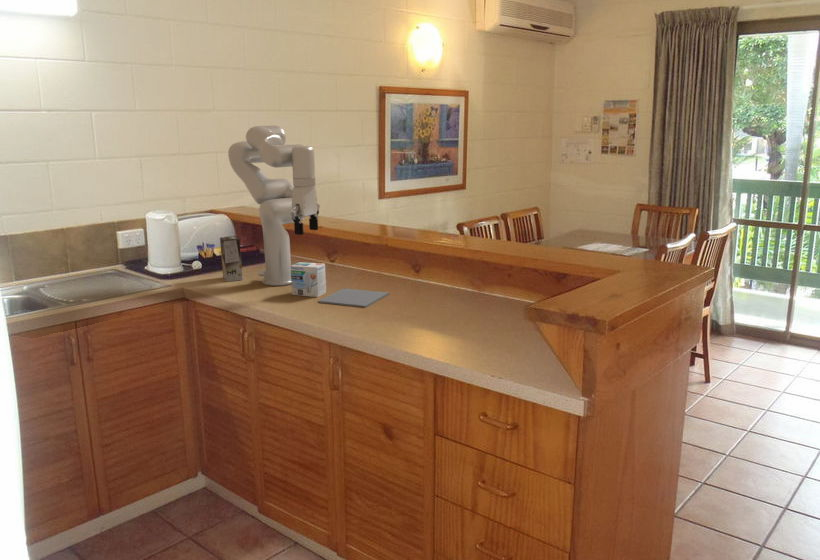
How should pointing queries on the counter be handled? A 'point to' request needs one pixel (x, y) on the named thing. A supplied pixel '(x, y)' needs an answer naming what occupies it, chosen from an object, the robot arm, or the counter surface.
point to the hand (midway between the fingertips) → (306, 232)
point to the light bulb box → (308, 279)
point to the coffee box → (231, 258)
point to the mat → (353, 297)
